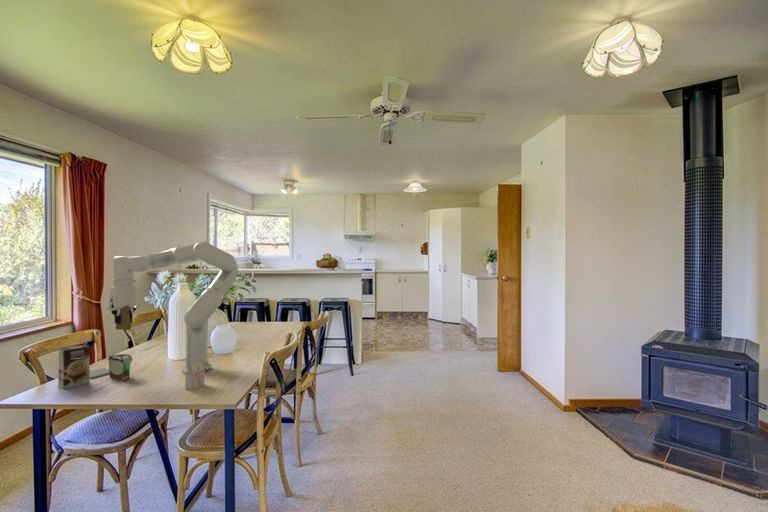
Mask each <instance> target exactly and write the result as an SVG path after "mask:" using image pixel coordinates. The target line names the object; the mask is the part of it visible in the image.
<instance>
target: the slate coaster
mask: <svg viewBox="0 0 768 512" xmlns="http://www.w3.org/2000/svg"><path fill="white" fill-rule="evenodd" d="M107 374H108V375H110V374H109V368H104V367H102V368H101V367H100V368H97V369H94V370H90V374H89V378H90V379H89V380H93V379H97V378H100V376H101V377H104V376H107ZM103 375H104V376H103ZM96 377H97V378H96ZM92 378H93V379H92Z"/></svg>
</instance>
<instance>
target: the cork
mask: <svg viewBox="0 0 768 512" xmlns="http://www.w3.org/2000/svg"><path fill="white" fill-rule="evenodd" d="M129 310H130V306H128V305H126V306H124V307H123V308H121V311H120V316H121V324H120V325H118V323H117V324H115V330H127V329H131V328H132V323H131V321H130V314H129Z"/></svg>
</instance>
